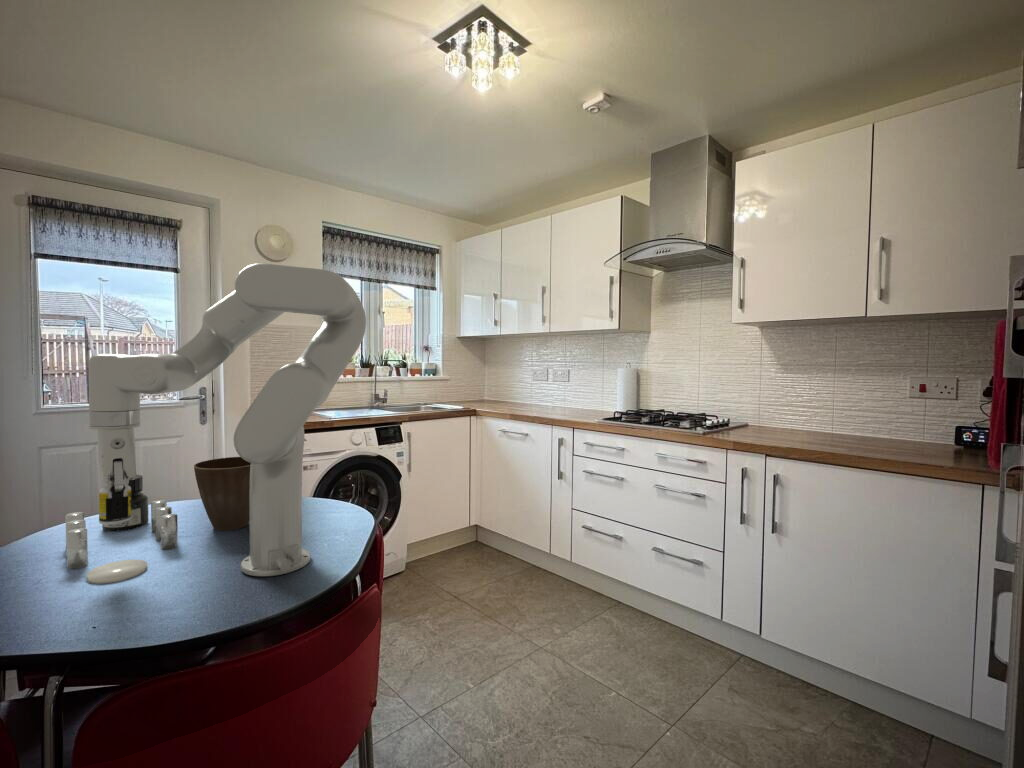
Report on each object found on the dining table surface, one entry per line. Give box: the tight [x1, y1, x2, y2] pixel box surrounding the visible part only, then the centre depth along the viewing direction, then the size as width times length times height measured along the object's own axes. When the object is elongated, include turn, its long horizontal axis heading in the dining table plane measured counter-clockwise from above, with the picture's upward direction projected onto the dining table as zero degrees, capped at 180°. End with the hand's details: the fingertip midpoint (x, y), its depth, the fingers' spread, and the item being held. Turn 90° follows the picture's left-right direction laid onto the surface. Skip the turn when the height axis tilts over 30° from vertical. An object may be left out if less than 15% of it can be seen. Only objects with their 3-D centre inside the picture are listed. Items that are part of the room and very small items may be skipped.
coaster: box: [86, 559, 148, 585], centre depth 95 cm, size 9×9×1 cm
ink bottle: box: [101, 474, 149, 532], centre depth 121 cm, size 10×9×12 cm
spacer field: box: [65, 499, 179, 570], centre depth 108 cm, size 17×18×7 cm
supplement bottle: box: [98, 476, 131, 525], centre depth 94 cm, size 5×5×8 cm
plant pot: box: [193, 456, 251, 532], centre depth 122 cm, size 15×15×16 cm
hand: (115, 513), depth 94 cm, fingers closed on supplement bottle, 4 cm apart
